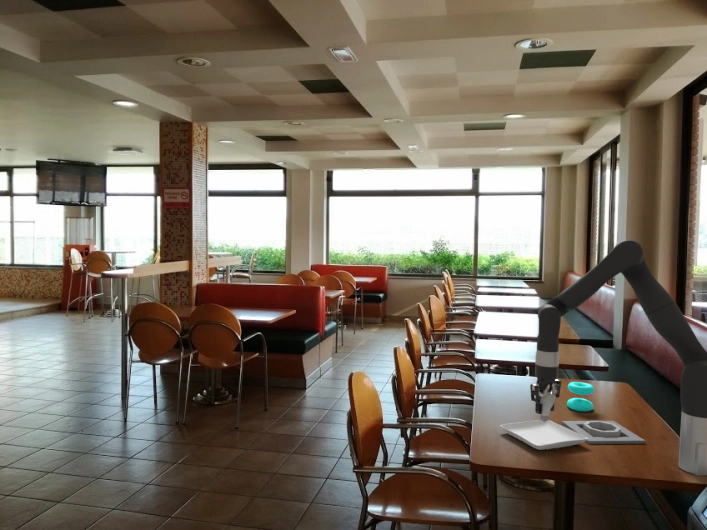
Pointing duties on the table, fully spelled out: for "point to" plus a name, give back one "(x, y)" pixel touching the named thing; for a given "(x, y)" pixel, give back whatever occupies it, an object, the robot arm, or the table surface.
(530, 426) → the salad plate
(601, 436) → the bulb socket stand
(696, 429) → the robot arm
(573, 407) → the donuts
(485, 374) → the table surface
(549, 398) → the lightbulb
